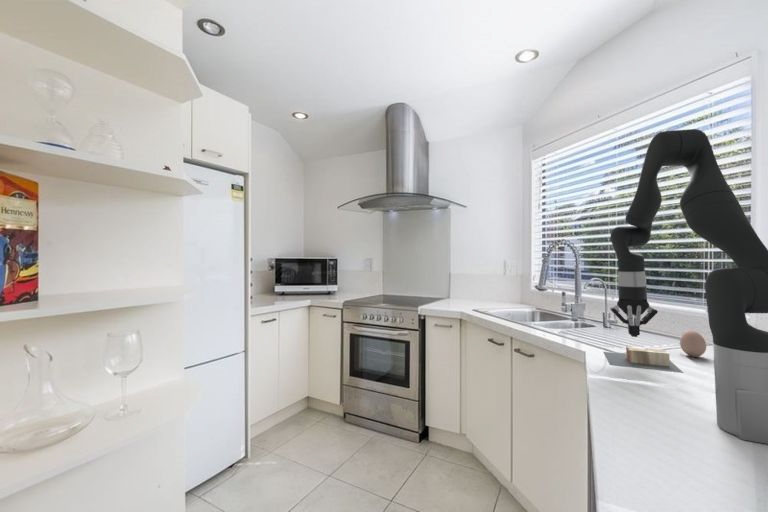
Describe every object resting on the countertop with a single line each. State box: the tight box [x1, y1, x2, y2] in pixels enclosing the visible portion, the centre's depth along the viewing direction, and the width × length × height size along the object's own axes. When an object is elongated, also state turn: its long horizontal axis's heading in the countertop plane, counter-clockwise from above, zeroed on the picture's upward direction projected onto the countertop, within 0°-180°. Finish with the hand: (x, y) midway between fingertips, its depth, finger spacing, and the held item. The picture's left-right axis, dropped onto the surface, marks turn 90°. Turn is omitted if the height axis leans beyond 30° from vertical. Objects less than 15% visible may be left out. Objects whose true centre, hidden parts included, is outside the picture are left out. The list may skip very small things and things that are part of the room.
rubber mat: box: [603, 351, 684, 374], centre depth 105 cm, size 16×18×1 cm
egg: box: [679, 329, 707, 358], centre depth 110 cm, size 7×7×9 cm
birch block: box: [625, 346, 671, 366], centre depth 104 cm, size 5×4×10 cm
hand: (634, 336), depth 106 cm, fingers closed
